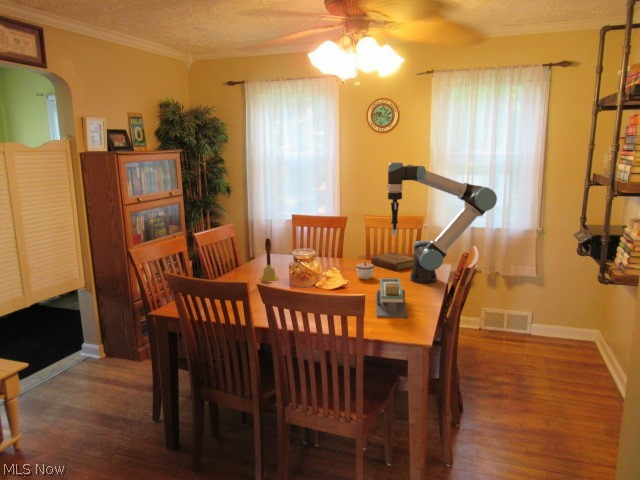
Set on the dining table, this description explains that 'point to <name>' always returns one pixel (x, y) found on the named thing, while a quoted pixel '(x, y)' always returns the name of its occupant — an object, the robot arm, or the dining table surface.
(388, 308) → the seesaw stand
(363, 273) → the lidded jar
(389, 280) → the seesaw beam
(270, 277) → the handbell
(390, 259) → the diary
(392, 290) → the beige square block
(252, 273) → the dining table surface
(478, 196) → the robot arm
